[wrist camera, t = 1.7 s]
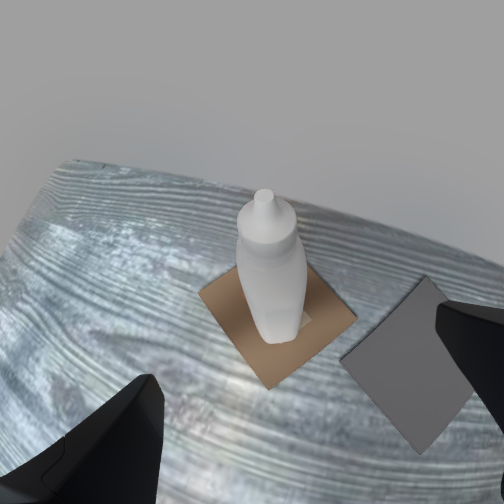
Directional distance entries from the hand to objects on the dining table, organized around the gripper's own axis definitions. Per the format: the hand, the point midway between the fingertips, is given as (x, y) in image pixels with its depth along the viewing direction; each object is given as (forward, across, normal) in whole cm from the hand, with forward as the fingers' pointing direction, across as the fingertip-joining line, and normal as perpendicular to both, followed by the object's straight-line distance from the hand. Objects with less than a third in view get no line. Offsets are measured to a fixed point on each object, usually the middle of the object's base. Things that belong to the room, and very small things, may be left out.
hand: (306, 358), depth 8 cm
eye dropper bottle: (+12, 0, +4) cm, 13 cm away
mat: (+7, -10, +10) cm, 16 cm away
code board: (+12, 0, +4) cm, 13 cm away
